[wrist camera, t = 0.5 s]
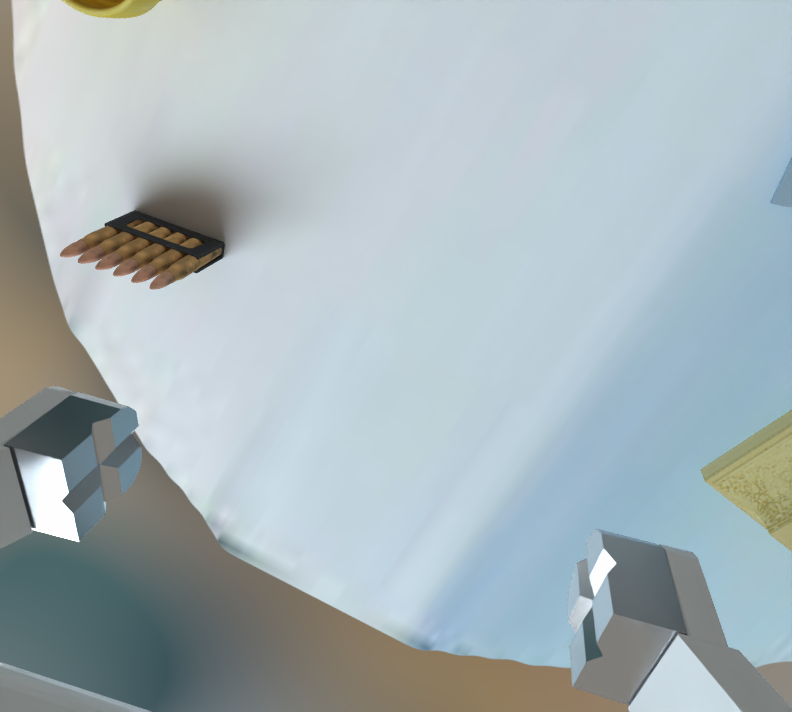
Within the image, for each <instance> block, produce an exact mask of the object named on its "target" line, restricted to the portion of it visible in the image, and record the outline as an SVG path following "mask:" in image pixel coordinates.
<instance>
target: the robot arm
mask: <svg viewBox="0 0 792 712" xmlns="http://www.w3.org/2000/svg"><path fill="white" fill-rule="evenodd" d="M137 427H138V420H137V414H136V411H135V410H133V409H132V408H130V407H128V406H125V405H121V404H118V403H114V402H111V401H107V400H104V399H101V398H97V397H94V396H90V395H86V394H83V393H77V392H74V391H70V390H67V389H63V388H60V387H57V386H54V387H48V388H45V389H43V390H42V391H40V392H39V393H37V394H36V395H34V396H33V397H31V398H30V399H29V400H27V401H25V402H24V403H23V404H21V405H20V406H18V407H17V408H15V409H14V410H12V411H11V412H9V413H8V414H6V415H5V416H4V417H2V418H1V419H0V549H1V548H3V547H5V546H7V545H9V544H11V543H13V542H15V541H16V540H18V539H21V538H23V537H24V536H26V535H28V534H30V533H32V530H36V531H40V532H44V533H47V534H51V535H55V536H59V537H63V538H67V539H70V540H74V541H78V542H79V541H80V540H81V539H82V538H83V537H84V536H85V535H86V533H88V532H89V530H90V529H91V528H92V527H93V526H94V525H95V524H96V523H97V522H98V521H99V520H100V519H101V517H102V516H103V515H104V514H105V512H106V502H107V501H109V500H112V499H114V498H117V497H119V496H121V495H123V494H124V493H125V491H126V490H127V489H128V488H129V487H130V486H131V485H132V483H133V481H134V479H135V477H136V475H137V473H138V471H139V469H140V465H141V459H142V452H141V445H140V444H139V442H138V441H137V440H136V438H135V437H134V436H133V434H132V433H133V432H134V430H135V429H136V428H137ZM586 551H587V558H586V559H584V560H582V561H580V562H578V563H577V565H576V567H575V569H574V572H573V574H572V577H571V581H570V585H569V590H568V599H567V614H568V622H569V623H570V624H571V626H572V627H573V629H574V630H575V632H576V634H575V636H574V638H573V640H572V642H571V644H570V660H571V674H572V687H574V688H577V689H580V690H583V691H586V692H589V693H592V694H595V695H598V696H601V697H604V698H608V699H611V700H614V701H617V702H620V703H623V704H626V705H629V707H628V709H629V710H630V712H792V708H791V707H790V706H789V704H788V703H787V702H786V701H785V700H784V699H783V698H782V697H781V696H780V695H779V694H778V693H777V692H776V690H775V689H774V688H773V687H772V686H771V685H770V684H769V683H768V682H767V681H766V679H765V678H764V677H763V676H762V675H761V674H760V673H759V672H758V671H757V670H756V669H755V667H754V666H753V665H752V664H751V663H750V662H749V661H748V660H747V659H746V658H745V657H744V655H743V654H742V653H741V652H740V651H739V650H736V649H732V648H729V647H728V645H727V642H726V639H725V636H724V633H723V630H722V628H721V625H720V622H719V619H718V616H717V613H716V610H715V607H714V604H713V601H712V598H711V595H710V592H709V589H708V587H707V584H706V581H705V578H704V575H703V572H702V569H701V566H700V563H699V560H698V558H697V557H696V556H695V555H694V553H693V552H689V551H685V550H681V549H677V548H673V547H668V546H664V545H657V544H655V543H651V542H647V541H643V540H639V539H635V538H631V537H627V536H623V535H619V534H615V533H611V532H607V531H603V530H600V529H595V530H594V531H593V532H592V533H591V535H590V537H589V539H588V541H587V543H586ZM0 712H151V711H148V710H145V709H142V708H139V707H136V706H133V705H130V704H127V703H123V702H121V701H117V700H114V699H111V698H108V697H105V696H102V695H99V694H96V693H93V692H90V691H87V690H84V689H81V688H78V687H75V686H71V685H69V684H65V683H62V682H59V681H56V680H53V679H50V678H47V677H44V676H41V675H38V674H35V673H32V672H28V671H25V670H23V669H20V668H16V667H14V666H10V665H7V664H4V663H1V662H0Z"/></svg>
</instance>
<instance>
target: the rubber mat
mask: <svg viewBox="0 0 792 712" xmlns="http://www.w3.org/2000/svg"><path fill="white" fill-rule="evenodd" d="M771 203H772V204H776V205H781V206H787V207H792V159H791V161H790V163H789V165H788V167H787V169H786V171H785V173H784V175H783V177H782V179H781V182H780V184H779V186H778V188H777V190H776V192H775V194H774V196H773V198H772V200H771Z"/></svg>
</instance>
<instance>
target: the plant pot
mask: <svg viewBox="0 0 792 712" xmlns="http://www.w3.org/2000/svg"><path fill="white" fill-rule="evenodd" d="M62 1H63V2H65V3H66V4H67V5H69V6H70V7H72V8H74V9H76V10H78V11H80V12H82V13H84V14H87V15H91V16H96V17H105V18H132V17H137V16H140V15H142V14H144V13H146V12H148V11H149V10H151V9H152V8H153V7H154V6H155V5H156V4H157V3H158V2H159V1H161V0H62Z"/></svg>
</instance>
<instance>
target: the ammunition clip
mask: <svg viewBox="0 0 792 712" xmlns="http://www.w3.org/2000/svg"><path fill="white" fill-rule="evenodd" d="M224 245H225V244H224V242H221V241H218V240H215V239H213V238H210V237H207V236H204V235H201V234H199V233H196V232H193V231H190V230H187V229H185V228H182V227H179V226H176V225H173V224H171V223H168V222H165V221H162V220H159V219H157V218H154V217H151V216H148V215H145V214H143V213H140V212H137V211H132V212H130V213H128V214H125V215H123V216H121V217H119V218H116V219H114V220H112V221H109V222H107V223H105V227H104V228H102V229H99V230H97V231H94V232H92V233H90V234H88V235H86V236H85V237H84V238H82V239H80V240H78V241H77V242H74V243H72V244H71V245H69V246H67V247H66V248H65V249H64V250H63V251H62V252H61V254H60V256H61V257H73V256H77V255H80V254H83V253H84V254H83V255H82V256H81V257H80V258H79V259H78V263H91V262H95V261H98V260H100V259H102V260H100V261H99V262H98V264H97V265H96V267H95V269H97V270H105V269H109V268H112V267H115V266H117V265H119V266H118V267H117V268H116V269H115V271H114V273H113V275H114V276H124V275H127V274H130V273H133V272H135V271H137V270H139V269H140V270H139V271H138V272H137V273H136V274H135V275H134V276H133V278H132V280H131V282H133V283H139V282H143V281H146V280H149V279H151V278H153V277H155V276H157V275H159V274H160V275H159V276H157V277H156V278H155V279H154V280H153V282H152V283H151V285H150V289H160V288H163V287H165V286H167V285H169V284H171V283H173V282H175V281H177V280H180V279H183V278H185V277H186V276H188V275H189V274H191V273H193V272H194V273H198V272H200V271H202V270H203V269H205V268H207V267H209V266H210V265H212V264H214V263H215V262H217V261H219V260H220V259H222V258H223V253H224ZM120 264H121V265H120ZM141 268H142V269H141Z"/></svg>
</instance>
